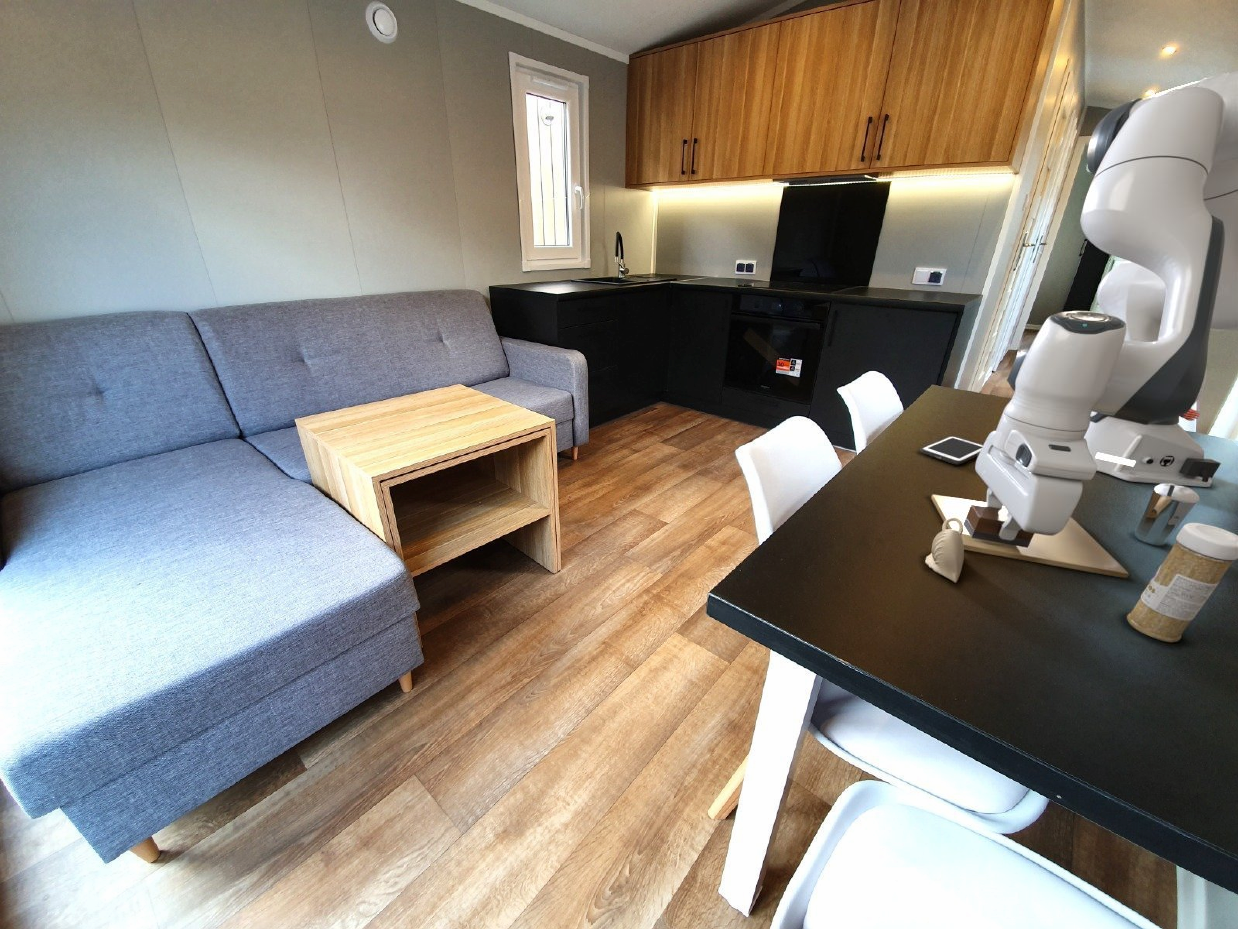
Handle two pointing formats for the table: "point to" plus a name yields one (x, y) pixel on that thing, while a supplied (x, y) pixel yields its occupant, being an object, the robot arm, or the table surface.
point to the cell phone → (953, 450)
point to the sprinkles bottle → (1184, 581)
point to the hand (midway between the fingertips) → (997, 527)
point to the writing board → (1036, 543)
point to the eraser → (992, 526)
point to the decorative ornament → (947, 551)
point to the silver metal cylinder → (1165, 513)
